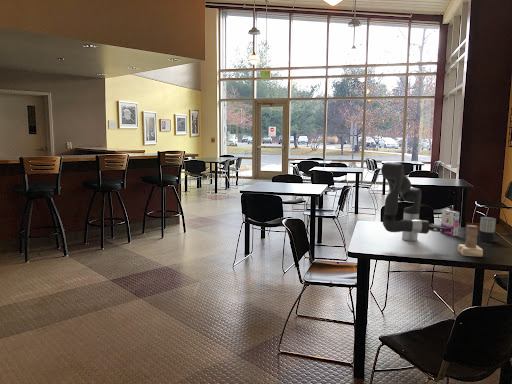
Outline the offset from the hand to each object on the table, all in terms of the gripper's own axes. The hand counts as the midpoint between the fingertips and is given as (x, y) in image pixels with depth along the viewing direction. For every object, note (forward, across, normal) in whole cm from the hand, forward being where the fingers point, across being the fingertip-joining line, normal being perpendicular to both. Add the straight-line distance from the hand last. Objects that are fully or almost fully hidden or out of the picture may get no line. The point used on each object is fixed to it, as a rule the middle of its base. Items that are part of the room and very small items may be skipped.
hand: (448, 228), depth 237 cm
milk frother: (+35, +38, +10) cm, 52 cm away
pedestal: (+12, -2, +13) cm, 18 cm away
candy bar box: (+20, +50, +10) cm, 54 cm away
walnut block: (+12, -2, +9) cm, 15 cm away
